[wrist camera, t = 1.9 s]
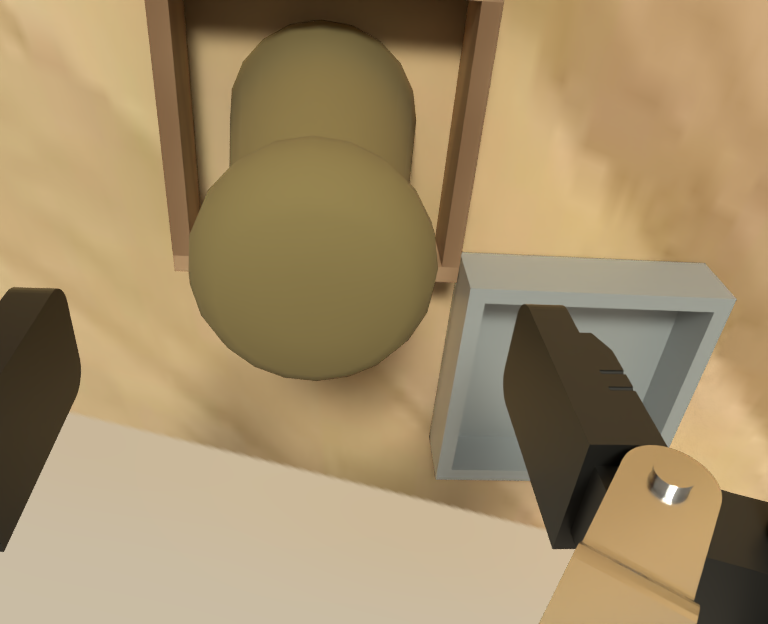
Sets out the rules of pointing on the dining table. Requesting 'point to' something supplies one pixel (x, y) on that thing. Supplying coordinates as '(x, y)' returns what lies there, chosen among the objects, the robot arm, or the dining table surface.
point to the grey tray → (591, 315)
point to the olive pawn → (316, 209)
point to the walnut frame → (180, 140)
